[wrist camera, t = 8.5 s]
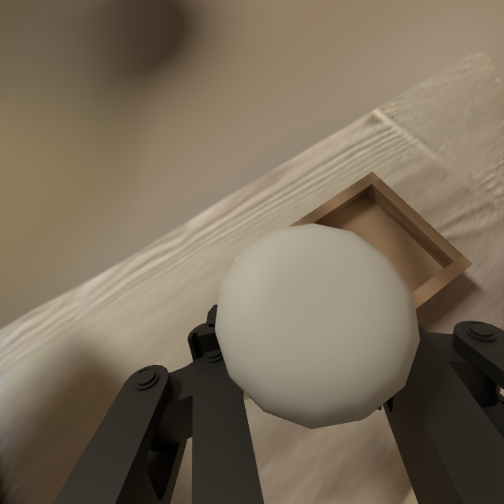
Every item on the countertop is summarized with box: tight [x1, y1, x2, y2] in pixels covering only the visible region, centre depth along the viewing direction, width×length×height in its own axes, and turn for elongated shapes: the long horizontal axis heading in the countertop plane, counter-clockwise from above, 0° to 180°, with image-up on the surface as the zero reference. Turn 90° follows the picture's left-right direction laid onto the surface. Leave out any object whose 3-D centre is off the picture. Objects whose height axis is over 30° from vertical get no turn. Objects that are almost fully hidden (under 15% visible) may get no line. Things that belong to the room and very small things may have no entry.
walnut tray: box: [289, 172, 472, 309], centre depth 31 cm, size 19×14×3 cm
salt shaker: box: [215, 223, 420, 429], centre depth 11 cm, size 6×6×13 cm
